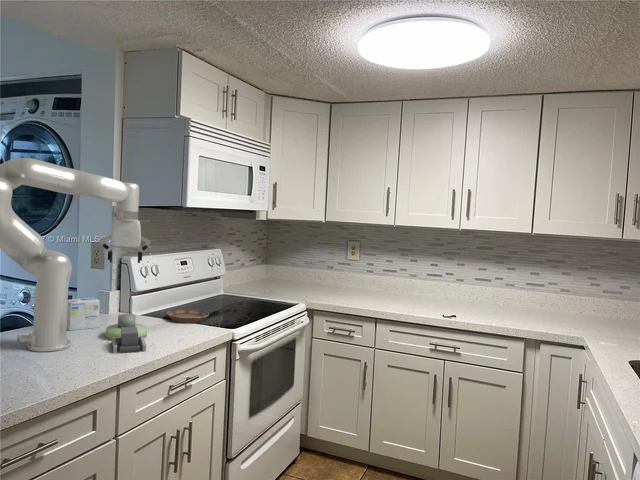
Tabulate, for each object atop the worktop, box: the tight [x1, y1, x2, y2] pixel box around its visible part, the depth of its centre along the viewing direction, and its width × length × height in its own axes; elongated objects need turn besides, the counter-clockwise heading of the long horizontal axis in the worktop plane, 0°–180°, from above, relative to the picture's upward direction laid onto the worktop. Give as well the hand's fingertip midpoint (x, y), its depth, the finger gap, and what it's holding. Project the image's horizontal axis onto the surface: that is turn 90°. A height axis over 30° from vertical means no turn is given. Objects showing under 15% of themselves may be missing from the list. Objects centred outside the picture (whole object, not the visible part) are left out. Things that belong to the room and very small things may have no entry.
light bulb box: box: [67, 297, 101, 332], centre depth 178 cm, size 11×7×11 cm, turn 134°
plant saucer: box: [166, 308, 210, 324], centre depth 202 cm, size 18×18×3 cm
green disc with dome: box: [105, 313, 148, 354], centre depth 165 cm, size 14×26×7 cm, turn 26°
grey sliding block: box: [119, 327, 141, 354], centre depth 158 cm, size 6×10×6 cm, turn 26°
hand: (124, 262), depth 172 cm, fingers open, 9 cm apart
